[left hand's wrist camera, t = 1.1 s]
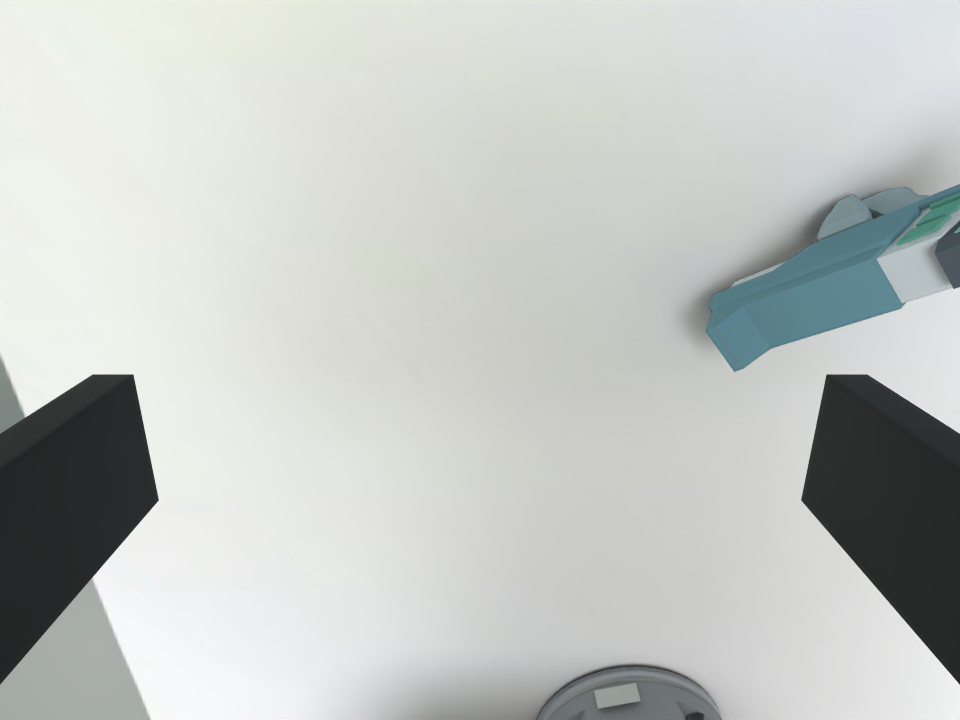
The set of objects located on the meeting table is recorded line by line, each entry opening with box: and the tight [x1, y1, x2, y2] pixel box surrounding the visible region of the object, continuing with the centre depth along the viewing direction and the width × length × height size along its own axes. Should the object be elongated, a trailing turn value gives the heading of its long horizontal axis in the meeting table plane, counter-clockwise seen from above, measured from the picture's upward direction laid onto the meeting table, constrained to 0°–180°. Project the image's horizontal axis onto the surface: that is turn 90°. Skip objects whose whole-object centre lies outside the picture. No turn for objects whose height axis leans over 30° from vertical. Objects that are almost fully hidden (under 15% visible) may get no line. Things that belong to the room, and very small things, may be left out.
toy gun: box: [706, 184, 960, 372], centre depth 32 cm, size 4×19×10 cm
